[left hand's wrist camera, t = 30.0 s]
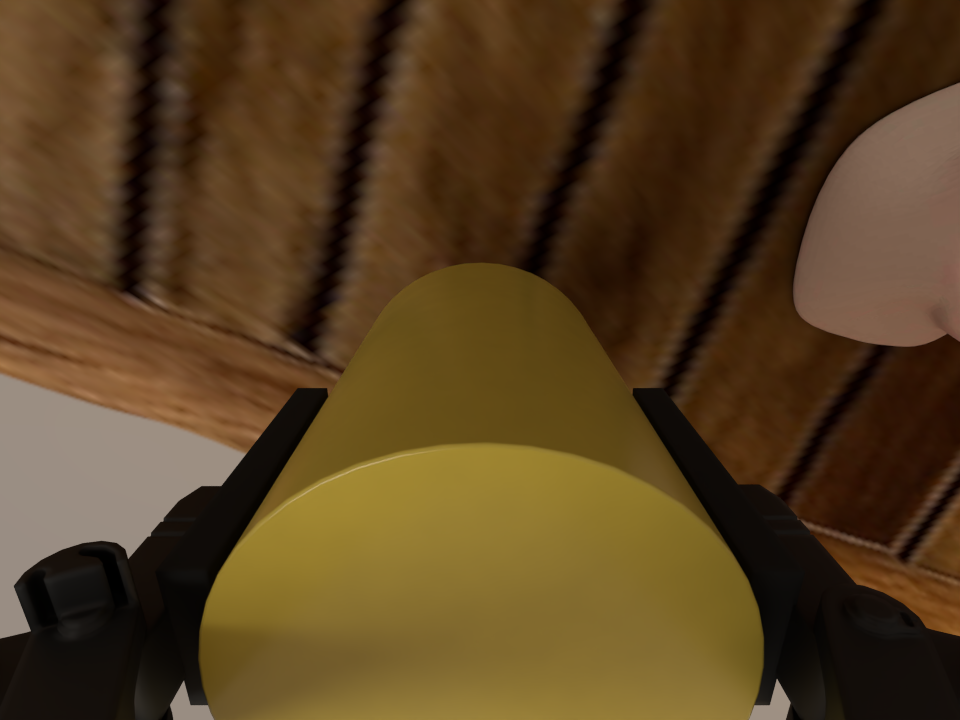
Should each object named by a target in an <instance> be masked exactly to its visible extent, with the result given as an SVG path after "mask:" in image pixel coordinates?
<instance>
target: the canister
mask: <svg viewBox="0 0 960 720" xmlns="http://www.w3.org/2000/svg"><path fill="white" fill-rule="evenodd" d="M198 660H199V667H200V675H201V682H202V688H203V691H204V694H205V697H206V700H207V703H208V706H209V709H210V712H211V714H212V716H213V718H214V720H749V718H750V715H751V713H752V710H753V707H754V705H755V702H756V699H757V696H758V694H759V690H760V684H761V679H762V673H763V668H764V634H763V628H762V623H761V617H760V612H759V607H758V604H757V601H756V599H755V596H754V594H753V591H752V588H751V586H750V583H749V580H748V578H747V577H746V575H745V573H744V572H743V570H742V568H741V567H740V565H739V563H738V562H737V560H736V558H735V556H734V555H733V553H732V551H731V550H730V548H729V547H728V545H727V544H726V542H725V540H724V539H723V537H722V536H721V534H720V533H719V531H718V529H717V528H716V526H715V525H714V523H713V521H712V520H711V518H710V517H709V515H708V514H707V512H706V510H705V509H704V507H703V506H702V504H701V503H700V501H699V499H698V498H697V496H696V495H695V493H694V491H693V490H692V488H691V487H690V485H689V484H688V482H687V480H686V479H685V477H684V476H683V474H682V473H681V471H680V469H679V468H678V466H677V465H676V463H675V461H674V460H673V458H672V457H671V455H670V454H669V452H668V450H667V449H666V447H665V446H664V444H663V443H662V441H661V439H660V438H659V436H658V435H657V433H656V432H655V430H654V428H653V427H652V425H651V424H650V422H649V420H648V419H647V417H646V416H645V414H644V413H643V411H642V409H641V408H640V406H639V405H638V403H637V402H636V400H635V398H634V397H633V395H632V394H631V392H630V390H629V389H628V387H627V386H626V384H625V383H624V381H623V379H622V378H621V376H620V375H619V373H618V372H617V370H616V368H615V367H614V365H613V364H612V362H611V360H610V359H609V357H608V356H607V354H606V353H605V351H604V349H603V348H602V346H601V345H600V343H599V342H598V340H597V338H596V337H595V335H594V334H593V332H592V330H591V329H590V327H589V326H588V324H587V323H586V321H585V319H584V318H583V316H582V315H581V313H580V312H579V311H578V309H577V308H576V307H575V306H574V304H573V303H572V302H571V301H570V300H569V299H568V298H567V297H566V296H565V295H564V294H563V293H562V292H561V291H560V290H558V289H557V288H555V287H554V286H553V285H551V284H550V283H548V282H547V281H545V280H543V279H542V278H540V277H538V276H536V275H534V274H532V273H529V272H527V271H524V270H521V269H518V268H515V267H511V266H506V265H501V264H492V263H467V264H461V265H455V266H450V267H446V268H443V269H440V270H437V271H434V272H432V273H430V274H428V275H425V276H423V277H421V278H419V279H417V280H416V281H414V282H413V283H411V284H410V285H408V286H407V287H405V288H404V289H403V290H402V291H401V292H400V293H398V294H397V295H396V296H395V297H394V298H393V299H392V300H391V301H390V302H389V303H388V305H387V306H386V307H385V308H384V309H383V310H382V312H381V314H380V315H379V317H378V318H377V320H376V321H375V323H374V324H373V326H372V328H371V329H370V331H369V332H368V334H367V336H366V337H365V339H364V340H363V342H362V344H361V345H360V347H359V348H358V350H357V352H356V353H355V355H354V356H353V358H352V360H351V361H350V363H349V364H348V366H347V368H346V369H345V371H344V372H343V374H342V376H341V377H340V379H339V380H338V382H337V384H336V385H335V387H334V388H333V390H332V392H331V393H330V395H329V396H328V398H327V400H326V401H325V403H324V404H323V406H322V408H321V409H320V411H319V412H318V414H317V416H316V417H315V419H314V420H313V422H312V424H311V425H310V427H309V428H308V430H307V432H306V433H305V435H304V436H303V438H302V440H301V441H300V443H299V444H298V446H297V448H296V449H295V451H294V452H293V454H292V456H291V457H290V459H289V460H288V462H287V464H286V465H285V467H284V468H283V470H282V472H281V473H280V475H279V476H278V478H277V480H276V481H275V483H274V484H273V486H272V488H271V489H270V491H269V492H268V494H267V496H266V497H265V499H264V500H263V502H262V504H261V505H260V507H259V508H258V510H257V512H256V513H255V515H254V516H253V518H252V520H251V521H250V523H249V524H248V526H247V528H246V529H245V531H244V532H243V534H242V536H241V537H240V539H239V540H238V542H237V544H236V545H235V547H234V548H233V550H232V552H231V553H230V555H229V556H228V558H227V560H226V561H225V563H224V564H223V566H222V568H221V569H220V571H219V572H218V574H217V577H216V579H215V581H214V584H213V586H212V588H211V591H210V593H209V595H208V598H207V600H206V604H205V608H204V612H203V617H202V621H201V626H200V632H199V657H198Z"/></svg>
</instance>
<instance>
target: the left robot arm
mask: <svg viewBox="0 0 960 720" xmlns="http://www.w3.org/2000/svg"><path fill="white" fill-rule="evenodd" d="M633 397H634V398H635V400H636V402H637V403H638V405H639V406H640V408H641V409H642V411H643V413H644V414H645V416H646V417H647V419H648V420H649V422H650V424H651V425H652V427H653V428H654V430H655V432H656V433H657V435H658V436H659V438H660V439H661V441H662V443H663V444H664V446H665V447H666V449H667V450H668V452H669V454H670V455H671V457H672V458H673V460H674V461H675V463H676V465H677V466H678V468H679V469H680V471H681V473H682V474H683V476H684V477H685V479H686V480H687V482H688V484H689V485H690V487H691V488H692V490H693V491H694V493H695V495H696V496H697V498H698V499H699V501H700V503H701V504H702V506H703V507H704V509H705V510H706V512H707V514H708V515H709V517H710V518H711V520H712V521H713V523H714V525H715V526H716V528H717V529H718V531H719V533H720V534H721V536H722V537H723V539H724V540H725V542H726V544H727V545H728V547H729V548H730V550H731V551H732V553H733V555H734V556H735V558H736V560H737V562H738V563H739V565H740V567H741V568H742V570H743V572H744V573H745V575H746V577H747V578H748V580H749V583H750V586H751V588H752V591H753V594H754V596H755V599H756V601H757V604H758V607H759V612H760V617H761V623H762V628H763V634H764V668H763V673H762V679H761V684H760V690H759V694H758V696H757V699H756V702H755V705H770V702H771V698H772V694H773V691H774V687H775V683H776V679H778V681H779V683H780V684H781V686H782V688H783V690H784V692H785V693H786V695H787V697H788V698H789V700H790V702H791V704H790V707H789V711H788V714H787V718H786V720H960V636H956V635H952V634H948V633H943V632H939V631H935V630H931V629H928V628H926V627H925V625H924V624H923V622H922V621H921V619H920V618H919V617H918V616H917V615H916V614H915V613H913V612H912V611H911V610H910V609H909V608H908V607H906V606H905V605H904V604H903V603H901V602H899V601H897V600H896V599H894V598H892V597H890V596H888V595H887V594H885V593H883V592H880V591H877V590H874V589H871V588H869V587H866V586H862V585H856V583H855V582H854V581H853V580H852V579H851V578H850V577H849V575H848V574H847V573H846V572H845V571H844V570H843V568H842V567H841V566H840V565H839V564H838V563H837V562H836V560H835V559H834V558H833V557H832V556H831V555H830V554H829V552H828V551H827V550H826V549H825V548H824V547H823V546H822V544H821V543H820V542H819V541H818V540H817V539H816V538H815V536H814V535H810V531H809V530H808V528H807V527H806V526H805V525H804V524H803V523H802V522H801V520H797V516H796V515H795V514H794V512H793V511H792V510H791V509H790V508H789V507H788V506H787V504H786V503H785V502H784V501H783V500H782V499H781V498H779V497H778V496H776V495H774V494H773V493H771V492H770V491H768V490H767V489H765V488H764V487H762V486H761V485H738V484H737V483H736V482H735V480H734V479H733V478H732V477H731V475H730V474H729V473H728V471H727V470H726V469H725V468H724V466H723V465H722V464H721V462H720V461H719V460H718V459H717V457H716V456H715V455H714V454H713V452H712V451H711V450H710V448H709V447H708V446H707V445H706V443H705V442H704V441H703V439H702V438H701V437H700V436H699V434H698V433H697V432H696V430H695V429H694V428H693V427H692V425H691V424H690V423H689V421H688V420H687V419H686V418H685V416H684V415H683V414H682V412H681V411H680V410H679V409H678V407H677V406H676V405H675V403H674V402H673V401H672V400H671V398H670V397H669V396H668V395H667V393H666V392H665V391H664V389H663V388H633ZM327 398H328V392H327V388H298V389H297V390H296V391H295V392H294V394H293V395H292V396H291V398H290V399H289V400H288V401H287V403H286V404H285V405H284V406H283V408H282V409H281V410H280V412H279V413H278V414H277V415H276V417H275V418H274V419H273V421H272V422H271V423H270V424H269V426H268V427H267V428H266V430H265V431H264V432H263V433H262V435H261V436H260V437H259V439H258V440H257V441H256V442H255V444H254V445H253V446H252V448H251V449H250V450H249V451H248V453H247V454H246V455H245V457H244V458H243V459H242V460H241V462H240V463H239V464H238V466H237V467H236V468H235V469H234V471H233V472H232V473H231V475H230V476H229V477H228V478H227V480H226V481H225V482H224V483H223V485H222V486H201V487H200V488H198V489H197V490H195V491H194V492H192V493H191V494H189V495H187V496H186V497H184V498H183V499H181V500H180V501H179V502H178V503H177V504H176V505H175V506H174V507H173V508H172V509H171V511H170V512H169V513H168V514H167V515H166V516H165V517H164V521H163V522H160V523H159V524H158V526H157V527H156V528H155V529H154V530H153V531H152V532H151V536H150V537H147V538H146V539H145V541H144V542H143V543H142V544H141V545H140V546H139V547H138V549H137V550H136V551H135V552H134V553H133V554H132V556H131V557H130V558H129V559H128V557H127V554H126V550H125V549H124V548H123V547H121V546H120V545H119V544H117V543H113V542H106V541H97V542H89V543H82V544H79V545H76V546H73V547H70V548H66V549H63V550H61V551H59V552H57V553H55V554H53V555H51V556H49V557H47V558H44V559H43V560H41V561H39V562H38V563H37V564H35V565H34V566H33V567H31V568H30V569H29V570H27V571H26V572H25V573H24V574H23V575H22V576H21V578H20V579H19V580H18V581H17V583H16V584H15V585H14V588H15V591H16V593H17V596H18V598H19V601H20V604H21V606H22V609H23V611H24V614H25V617H26V619H27V622H28V624H29V627H30V629H31V631H30V632H27V633H23V634H18V635H14V636H10V637H6V638H1V639H0V720H173V715H172V711H171V708H170V704H171V702H172V700H173V699H174V697H175V695H176V693H177V691H178V690H179V688H180V686H181V684H182V682H183V681H184V682H185V686H186V689H187V693H188V697H189V701H190V704H191V705H208V703H207V700H206V697H205V694H204V691H203V688H202V682H201V675H200V667H199V660H198V657H199V632H200V626H201V621H202V617H203V612H204V608H205V604H206V600H207V598H208V595H209V593H210V591H211V588H212V586H213V584H214V581H215V579H216V577H217V574H218V572H219V571H220V569H221V568H222V566H223V564H224V563H225V561H226V560H227V558H228V556H229V555H230V553H231V552H232V550H233V548H234V547H235V545H236V544H237V542H238V540H239V539H240V537H241V536H242V534H243V532H244V531H245V529H246V528H247V526H248V524H249V523H250V521H251V520H252V518H253V516H254V515H255V513H256V512H257V510H258V508H259V507H260V505H261V504H262V502H263V500H264V499H265V497H266V496H267V494H268V492H269V491H270V489H271V488H272V486H273V484H274V483H275V481H276V480H277V478H278V476H279V475H280V473H281V472H282V470H283V468H284V467H285V465H286V464H287V462H288V460H289V459H290V457H291V456H292V454H293V452H294V451H295V449H296V448H297V446H298V444H299V443H300V441H301V440H302V438H303V436H304V435H305V433H306V432H307V430H308V428H309V427H310V425H311V424H312V422H313V420H314V419H315V417H316V416H317V414H318V412H319V411H320V409H321V408H322V406H323V404H324V403H325V401H326V400H327Z"/></svg>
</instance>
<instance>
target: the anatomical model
mask: <svg viewBox="0 0 960 720" xmlns="http://www.w3.org/2000/svg"><path fill="white" fill-rule="evenodd" d="M793 298H794V304H795V308H796V310H797V312H798V314H799V315H800V316H801V318H803V319H804V320H805V321H806V322H808V323H809V324H811V325H813V326H815V327H817V328H820V329H822V330H825V331H827V332H830V333H833V334H837V335H840V336H844V337H847V338H851V339H854V340H858V341H862V342H866V343H873V344H881V345H890V346H917V345H922V344H926V343H929V342H931V341H934V340H936V339H938V338H940V337H942V336H944V335H946V334H947V333H948V334H949V335H951V336H952V337H954V338H955V339H957V340H958V341H960V83H958V84H955V85H952V86H950V87H947V88H945V89H942V90H940V91H937V92H935V93H933V94H930V95H928V96H926V97H924V98H921V99H919V100H917V101H914V102H913V103H911V104H909V105H907V106H905V107H903V108H901V109H899V110H897V111H895V112H893V113H891V114H889V115H888V116H886V117H884V118H883V119H881V120H880V121H878V122H876V123H875V124H874V125H872V126H871V127H870V128H868V129H867V130H866V131H864V132H863V133H862V134H861V135H860V136H858V137H857V138H856V139H855V140H854V142H853V143H852V144H851V145H850V146H849V147H848V148H847V149H846V150H845V152H844V153H843V154H842V156H841V157H840V158H839V159H838V161H837V162H836V164H835V165H834V167H833V169H832V170H831V172H830V174H829V175H828V177H827V179H826V181H825V183H824V185H823V187H822V189H821V191H820V193H819V195H818V197H817V200H816V202H815V205H814V207H813V210H812V212H811V214H810V217H809V220H808V224H807V227H806V230H805V233H804V237H803V240H802V244H801V248H800V252H799V256H798V260H797V264H796V270H795V276H794V284H793Z"/></svg>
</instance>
